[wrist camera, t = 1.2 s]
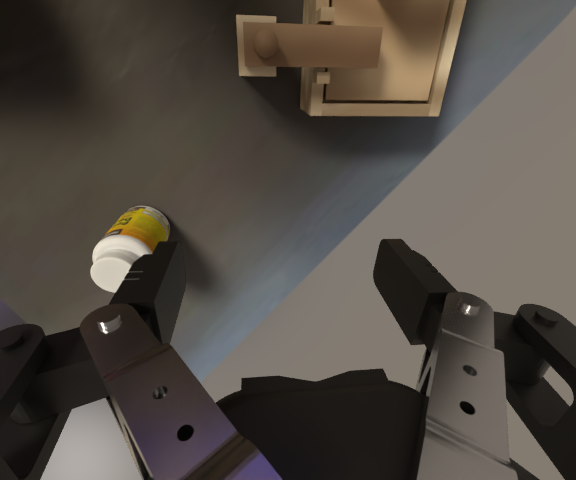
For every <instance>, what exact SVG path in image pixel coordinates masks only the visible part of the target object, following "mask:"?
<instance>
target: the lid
mask: <svg viewBox="0 0 576 480" xmlns="http://www.w3.org/2000/svg"><path fill="white" fill-rule="evenodd" d="M449 2H450V0H329V7H335V15H334V22H332V23H330V24H328V25H342V26H370V27H383V33H382V40H381V47H380V54H379V61H378V68H377V69H363V68H325V72H330V82H329V84H324V87H323V99H325V100H427V101H428V97H429V92H430V88H431V83H432V79H433V74H434V70H435V65H436V61H437V56H438V52H439V47H440V42H441V38H442V33H443V29H444V24H445V20H446V15H447V11H448V6H449Z"/></svg>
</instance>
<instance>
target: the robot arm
mask: <svg viewBox="0 0 576 480" xmlns="http://www.w3.org/2000/svg"><path fill="white" fill-rule="evenodd" d="M373 278H374V283H375V285H376V287H377V289H378V290H379V292H380V294H381V295H382V297H383V299H384V301H385V302H386V304H387V306H388V307H389V309H390V311H391V312H392V314H393V316H394V317H395V319H396V321H397V322H398V324H399V326H400V327H401V329H402V331H403V332H404V334H405V336H406V337H407V339H408V341H409V342H410V344H411V345H421V344H425V346H426V347H427V348H426V350H425V353H424V356H423V360H422V364H421V368H420V373H419V377H418V381H417V385H416V389H415V390H414V389H412V388H410V387H408V386H405V385H403V384H400V383H397V382H393V381H389V380H388V379H387V377H386V374H385V372H384V370H383V369H370V370H355V371H348V372H345V373H342V374H339V375H336V376H333V377H330V378H327V379H324V380H321V381H316V382H313V381H307V380H301V379H295V378H289V377H283V376H267V377H253V378H242V385H241V388H242V389H241V390H240V391H237V392H234V393H232V394H230V395H228V396H226V397H224V398H222V399H221V400H219V401H218V402H216V403H215V402H214V400H213V399H212V398H211V397H210V396H209V394H208V393H207V391H206V390H205V389H204V388H203V386H202V385H201V384H200V382H199V381H198V380H197V378H196V377H195V376H194V374H193V373H192V372H191V371H190V369H189V368H188V367H187V365H186V364H185V363H184V362H183V360H182V359H181V358H180V356H179V355H178V354H177V352H176V351H175V350H174V349H173V347H172V346H171V345H170V341H171V338H172V334H173V331H174V327H175V324H176V320H177V317H178V313H179V310H180V306H181V302H182V299H183V295H184V292H185V287H186V274H185V267H184V259H183V252H182V245H181V242H180V241H159V242H158V244H157V246H156V247H155V249H154V251H153V253H152V254H144V255H143V256H141V257H140V258H138V259H137V260H136V261H134V262H133V264H132V266H131V268H130V269H129V272H128V273H127V274H126V276H125V278H124V280H123V281H122V283H121V284H120V286H119V288H118V290H117V291H116V293H115V295H114V296H113V298H112V300H111V301H110V303H109V305H106V306H103V307H101V308H98V309H96V310H95V311H93V312H91V313H90V314H89V315H87V316H86V317H85V318H84V320H83V321H82V323H81V325H80V327H78V328H75V329H71V330H67V331H63V332H59V333H56V334H52V335H48V336H45V334H44V331H43V329H42V328H41V327H40V326H38V325H34V324H22V325H17V326H13V327H9V328H6V329H4V330H1V331H0V480H40V479H41V476H42V474H43V472H44V470H45V468H46V465H47V463H48V461H49V459H50V456H51V454H52V452H53V450H54V448H55V445H56V443H57V441H58V439H59V437H60V434H61V432H62V430H63V428H64V425H65V423H66V421H67V419H68V417H69V414H70V412H71V410H72V409H73V408H76V407H79V406H82V405H85V404H88V403H91V402H94V401H97V400H100V399H102V398H106V400H107V402H108V404H109V406H110V408H111V411H112V413H113V415H114V417H115V419H116V422H117V424H118V426H119V428H120V430H121V432H122V434H123V437H124V439H125V441H126V443H127V445H128V447H129V450H130V452H131V455H132V457H133V459H134V462H135V464H136V467H137V469H138V471H139V473H140V475H141V478H142V480H539V479H538V478H537V477H535V476H534V475H533V474H531V473H530V472H528V471H527V470H525V469H524V468H523V467H522V466H520V465H519V464H518V463H516V462H515V461H513V460H512V459H511V458H509V444H508V426H507V425H508V424H507V405H506V399H507V400H508V402H509V403H510V405H511V406H512V407H513V408H514V410H515V411H516V413H517V414H518V415H519V417H520V418H521V420H522V421H523V422H524V424H525V425H526V427H527V428H528V429H529V431H530V432H531V433H532V435H533V436H534V438H535V439H536V440H537V442H538V443H539V444H540V446H541V447H542V449H543V450H544V451H545V453H546V454H547V455H548V457H549V458H550V460H551V461H552V462H553V464H554V465H555V467H556V468H557V469H558V471H559V472H560V474H561V475H562V476H563V478H564V479H565V480H576V326H574V325H573V324H572V323H571V322H570V321H568V320H567V319H566V318H564V317H563V316H562V315H560V314H559V313H557V312H555V311H553V310H551V309H548V308H546V307H543V306H540V305H535V304H524V305H521V306H520V308H519V309H518V311H517V313H516V315H510V314H504V313H499V312H494V311H493V309H492V308H491V306H490V305H489V304H488V303H487V302H485V301H484V300H482V299H481V298H479V297H477V296H475V295H472V294H469V293H466V292H458V291H457V290H456V289H455V288H454V287H453V286H452V285H451V284H450V283H449V282H448V281H447V280H446V279H445V278H444V277H443V276H442V275H441V274H440V273H438V270H437V269H436V268H435V267H434V266H432V264H431V263H430V262H429V261H428V260H427V259H426V258H425V257H424V256H422V255H420V254H419V253H417V252H416V251H414V250H411V249H410V247H409V246H408V245H407V244H406V243H405V242H404V241H403V240H402V239H383V240H381V242H380V245H379V249H378V253H377V258H376V263H375V267H374V271H373ZM550 366H551V367H552V368H554V369H555V371H556V372H557V373H558V374H559V375H560V376H561V377H562V378H563V379H564V380H565V381H566V382H567V383H568V385H569V386H570V387H571V389H572V392H573V395H574V401H573V403H572V405H571V406H569V405H567V403H566V402H565V401H564V400H563V399H562V398H561V397H560V395H559V394H558V393H557V392H556V391H555V390H554V389H553V388H552V386H551V385H550V384H549V383H548V382H547V381H546V380H545V379H544V377H543V375H544V374H545V372H546V371H547V370H548V368H549V367H550Z"/></svg>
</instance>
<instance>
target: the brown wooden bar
mask: <svg viewBox="0 0 576 480" xmlns="http://www.w3.org/2000/svg"><path fill="white" fill-rule="evenodd" d="M382 33H383V27H370V26H342V25H315V24H288V23H261V22H243V36H244V58H245V66H267V67H315V68H363V69H377V68H378V61H379V54H380V47H381V40H382Z"/></svg>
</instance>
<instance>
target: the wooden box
mask: <svg viewBox="0 0 576 480" xmlns="http://www.w3.org/2000/svg"><path fill="white" fill-rule="evenodd" d="M466 1H467V0H450V2H449V6H448V11H447V15H446V20H445V24H444V29H443V33H442V38H441V42H440V47H439V52H438V56H437V61H436V65H435V70H434V74H433V79H432V83H431V88H430V92H429V97H428V101H427V100H325V99H323V87H324V84H329V82H330V72H325V68H315V67H301V96H300V109H302V110H303V111H304V112H306V113H307V114H308V115H310V116H439V113H440V109H441V105H442V101H443V96H444V92H445V88H446V84H447V80H448V76H449V72H450V68H451V63H452V59H453V55H454V51H455V47H456V43H457V39H458V35H459V30H460V26H461V22H462V18H463V14H464V10H465V6H466ZM334 15H335V7H329V0H304V7H303V24H315V25H328V24H330V23H332V22H334ZM243 22H261V23H276V16H254V15H236V25H237V44H238V62H239V76H274V77H276V67H267V66H245V58H244V36H243Z"/></svg>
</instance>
